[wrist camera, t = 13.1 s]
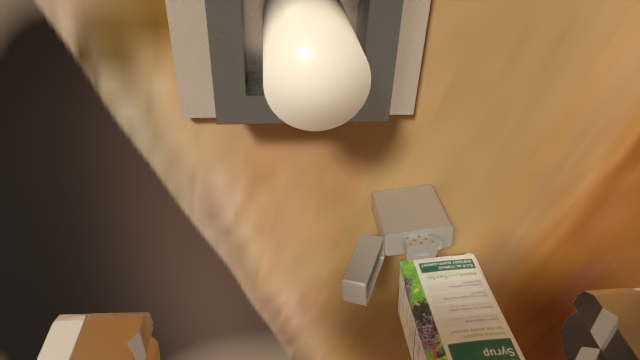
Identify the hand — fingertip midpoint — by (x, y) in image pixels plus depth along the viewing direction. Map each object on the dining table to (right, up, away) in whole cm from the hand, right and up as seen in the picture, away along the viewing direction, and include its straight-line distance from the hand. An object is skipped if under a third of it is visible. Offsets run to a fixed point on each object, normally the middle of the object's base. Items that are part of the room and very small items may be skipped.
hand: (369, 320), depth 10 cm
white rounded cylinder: (-2, +11, +15) cm, 19 cm away
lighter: (+3, +1, +24) cm, 24 cm away
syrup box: (+8, -5, +29) cm, 31 cm away
